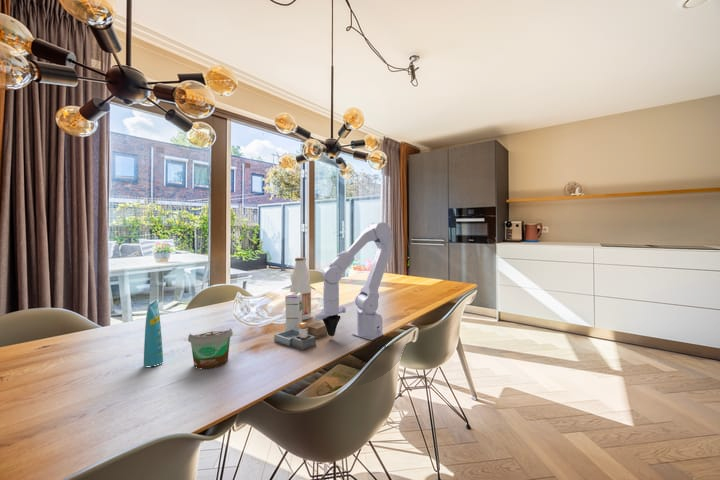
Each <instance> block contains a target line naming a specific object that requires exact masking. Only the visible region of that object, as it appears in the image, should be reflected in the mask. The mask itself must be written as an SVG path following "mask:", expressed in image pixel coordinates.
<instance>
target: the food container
mask: <svg viewBox="0 0 720 480" xmlns="http://www.w3.org/2000/svg"><path fill="white" fill-rule="evenodd" d="M233 334H234V332H233V329H232V327H230V328H229V329H228V330H223V331H208V332H204V333H200V334H195V335H194V334H192V333H189V335H188V338H187V342H189V343H190V345H191V352H192V359H193V366H195V367H197V368H196V369H198V368H202V369H201V370H211V369H210V368H212V369H216V368H219V367H221V365H222V366H223V365H225V364H226V363H228V361H229V352H230V341H231V337H232V336H233ZM195 367H194V368H195ZM215 367H216V368H215Z"/></svg>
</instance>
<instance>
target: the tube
mask: <svg viewBox="0 0 720 480" xmlns="http://www.w3.org/2000/svg"><path fill="white" fill-rule="evenodd" d="M147 306H148V307H147V311H146V317H145V326H144V327H145V328H144V343H143V345H144V346H143V367H144V366H154V365H157V364H160V363H162V362H163V363H164V353H163V340H162V339H163V337H162V326H161V317H160V310H159V304H158V299H157V298H156V299H154V301H153V302H151V303H149V304H148V305H147ZM163 363H162V364H163ZM160 365H161V364H160Z"/></svg>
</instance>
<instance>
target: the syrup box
mask: <svg viewBox="0 0 720 480" xmlns="http://www.w3.org/2000/svg"><path fill="white" fill-rule="evenodd" d="M284 302H285V303H284V305H285V306H284V308H285V309H284V310H285V331H287V330H290V329H295V330H299V323H301V322H304V320H302V293H299V292H293V293H290V292H288V293H287V294H286V295H285V296H284Z"/></svg>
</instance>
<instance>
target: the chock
mask: <svg viewBox="0 0 720 480" xmlns="http://www.w3.org/2000/svg"><path fill="white" fill-rule="evenodd" d="M308 334H309V335H312V336H315V337H316V340H317V339H320V338H322V337H324V336H327V335H328V333H327V329H326V326H325V324H324V322H323V323H322V322H317V321H311V322H308Z"/></svg>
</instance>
